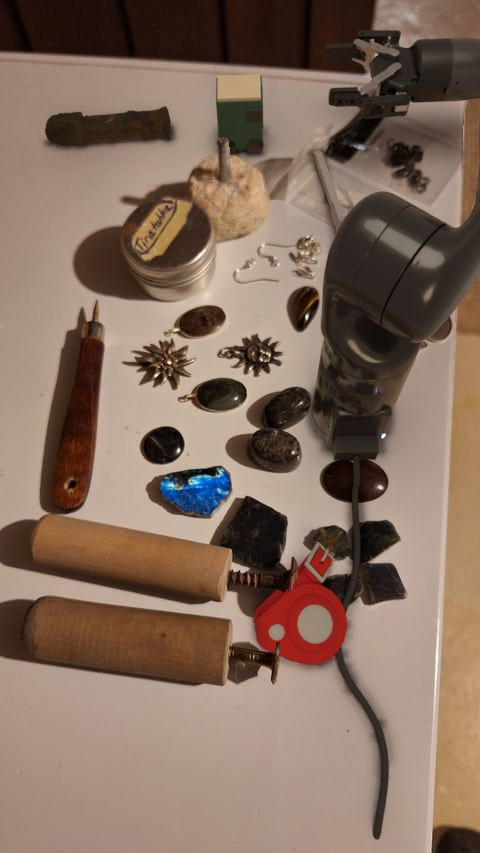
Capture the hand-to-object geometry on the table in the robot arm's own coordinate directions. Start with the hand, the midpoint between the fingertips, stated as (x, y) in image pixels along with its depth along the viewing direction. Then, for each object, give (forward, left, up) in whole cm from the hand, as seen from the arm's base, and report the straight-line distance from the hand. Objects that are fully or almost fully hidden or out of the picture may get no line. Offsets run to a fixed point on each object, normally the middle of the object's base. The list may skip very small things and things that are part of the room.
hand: (327, 75), depth 86 cm
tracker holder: (-69, +5, -11) cm, 70 cm away
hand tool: (+1, +32, -11) cm, 34 cm away
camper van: (0, +12, -11) cm, 16 cm away
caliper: (-13, 0, -11) cm, 17 cm away
